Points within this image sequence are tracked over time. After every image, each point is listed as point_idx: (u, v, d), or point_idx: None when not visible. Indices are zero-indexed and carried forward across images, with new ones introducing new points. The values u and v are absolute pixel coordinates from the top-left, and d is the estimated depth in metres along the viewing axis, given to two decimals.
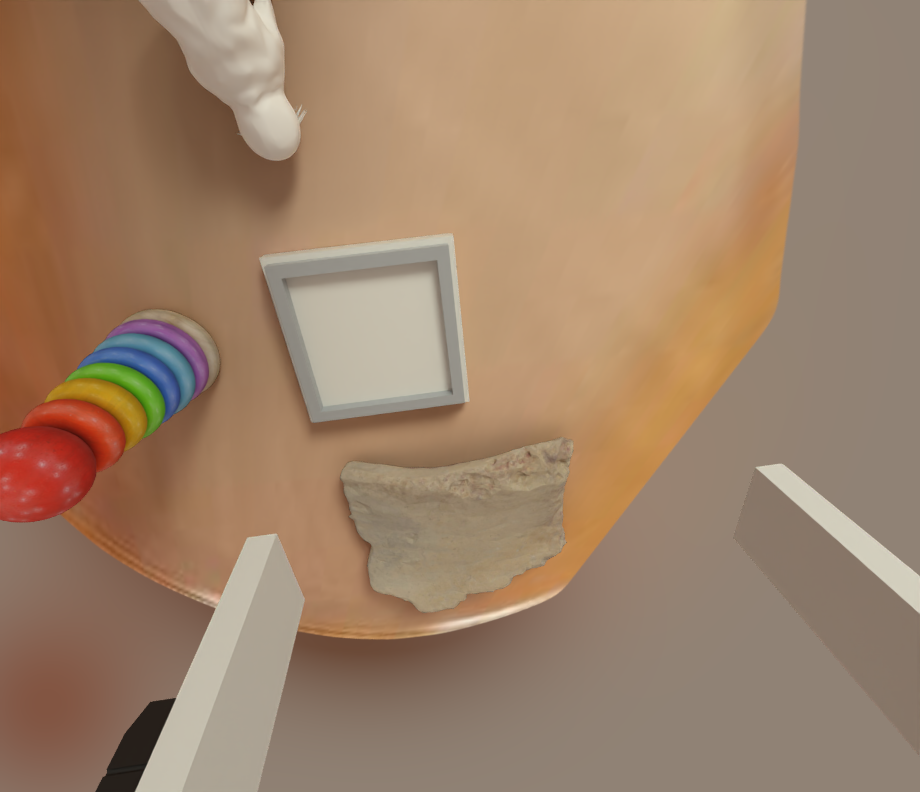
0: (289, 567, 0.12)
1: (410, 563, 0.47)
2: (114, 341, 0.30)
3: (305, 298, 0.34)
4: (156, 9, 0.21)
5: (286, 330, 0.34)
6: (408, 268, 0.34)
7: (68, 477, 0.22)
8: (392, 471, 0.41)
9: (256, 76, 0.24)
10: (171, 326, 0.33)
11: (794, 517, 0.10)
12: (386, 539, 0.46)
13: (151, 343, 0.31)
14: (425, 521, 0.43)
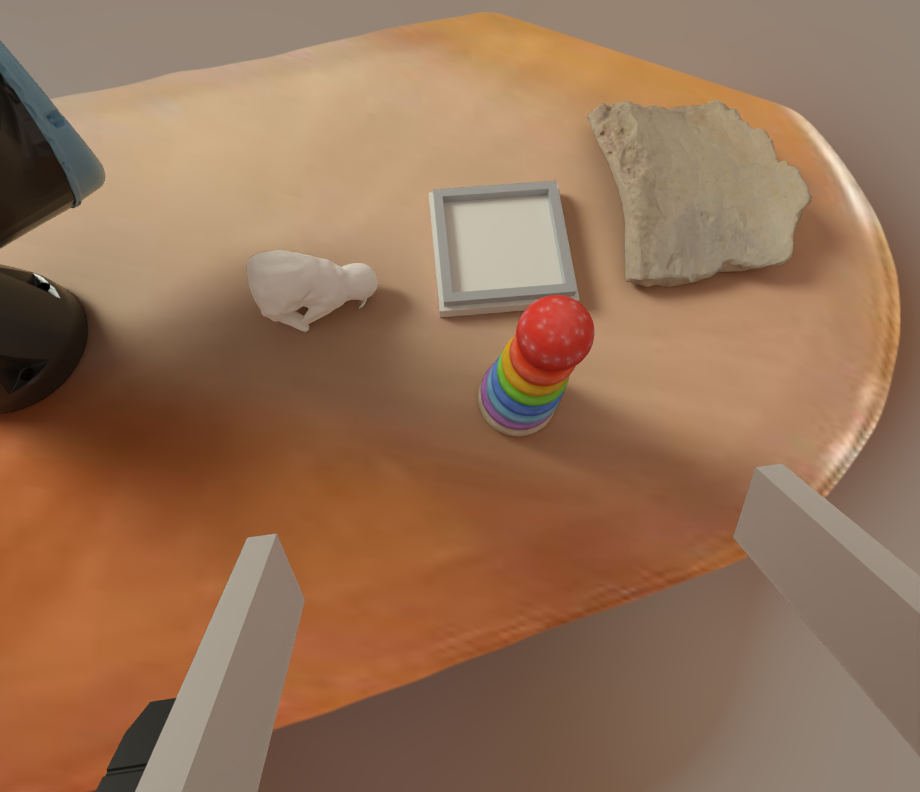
0: (289, 567, 0.12)
1: (745, 221, 0.46)
2: (490, 389, 0.38)
3: (469, 286, 0.46)
4: (295, 285, 0.39)
5: (492, 296, 0.44)
6: (449, 219, 0.48)
7: None
8: (628, 234, 0.46)
9: (329, 262, 0.42)
10: (486, 372, 0.42)
11: (794, 517, 0.10)
12: (713, 243, 0.45)
13: (493, 366, 0.39)
14: (681, 202, 0.46)
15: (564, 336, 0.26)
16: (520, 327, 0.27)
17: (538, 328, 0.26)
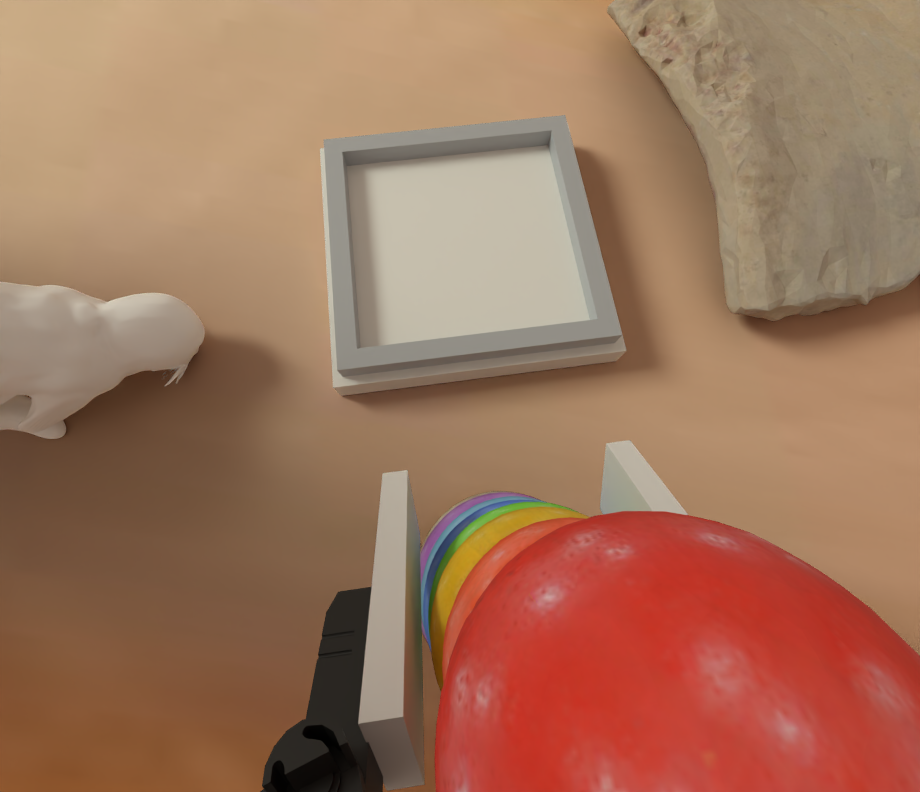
0: (412, 503, 0.13)
1: None
2: None
3: (397, 331, 0.22)
4: None
5: (442, 353, 0.21)
6: (359, 197, 0.24)
7: (642, 525, 0.04)
8: (728, 218, 0.22)
9: (60, 295, 0.18)
10: (428, 536, 0.18)
11: (626, 484, 0.12)
12: (904, 220, 0.22)
13: (435, 547, 0.15)
14: (831, 143, 0.22)
15: None
16: None
17: None
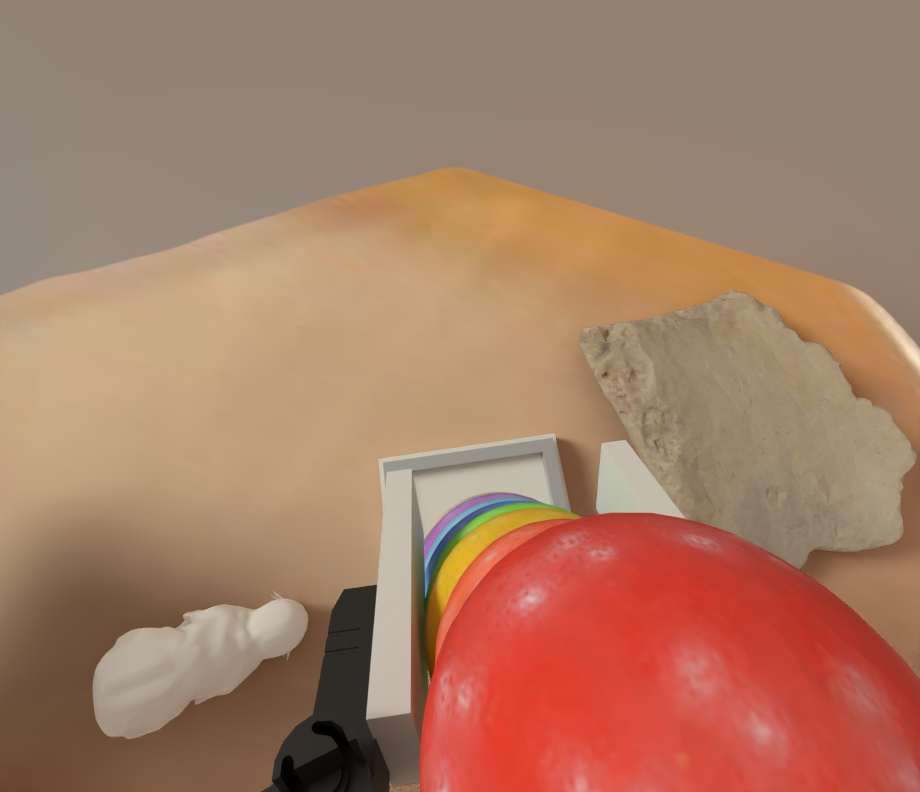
0: (416, 501, 0.13)
1: (827, 489, 0.33)
2: None
3: None
4: (166, 708, 0.26)
5: None
6: None
7: (627, 527, 0.04)
8: None
9: (228, 630, 0.28)
10: (426, 537, 0.18)
11: (621, 484, 0.12)
12: (791, 531, 0.32)
13: (433, 548, 0.15)
14: (737, 481, 0.32)
15: None
16: None
17: None
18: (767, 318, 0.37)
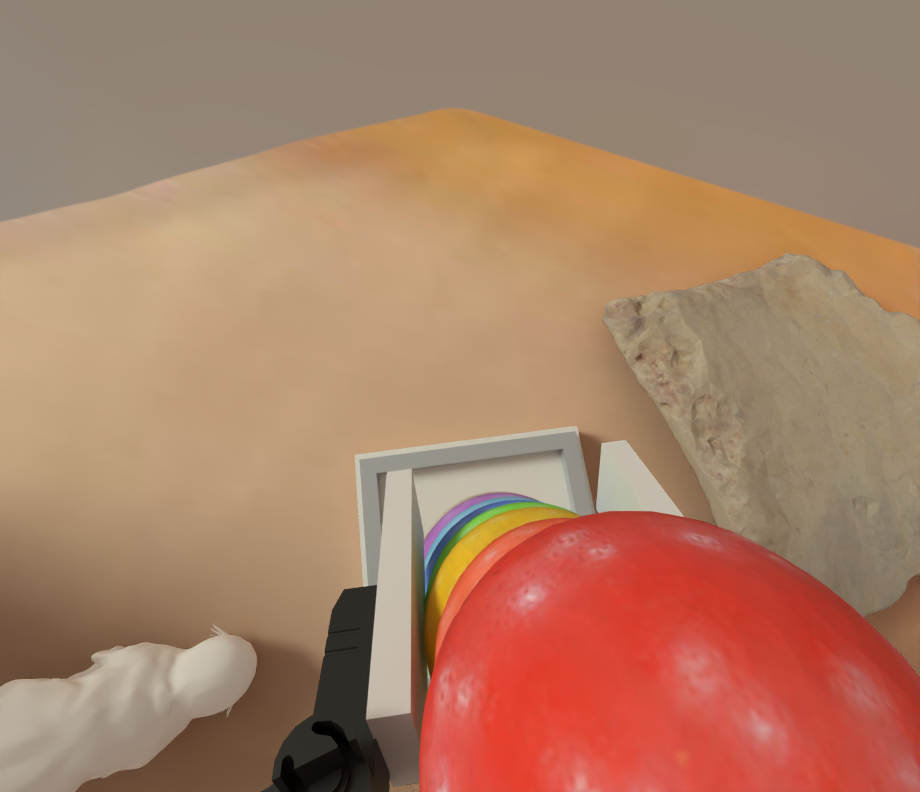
0: (416, 501, 0.13)
1: None
2: None
3: None
4: None
5: None
6: None
7: (627, 524, 0.04)
8: None
9: (141, 684, 0.21)
10: (426, 537, 0.18)
11: (621, 484, 0.12)
12: (885, 552, 0.25)
13: (433, 548, 0.15)
14: (817, 490, 0.25)
15: None
16: None
17: None
18: (837, 284, 0.29)
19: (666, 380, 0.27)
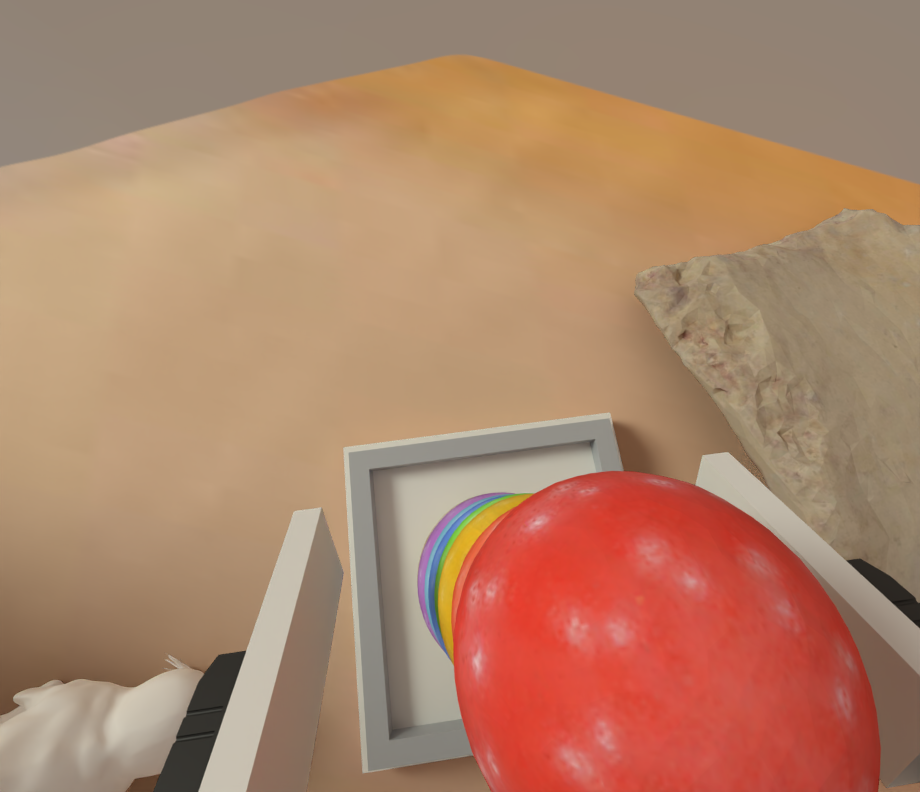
0: (331, 541, 0.12)
1: None
2: None
3: (431, 696, 0.20)
4: None
5: None
6: (387, 513, 0.22)
7: (608, 476, 0.06)
8: None
9: (63, 738, 0.16)
10: (431, 534, 0.19)
11: (733, 501, 0.11)
12: None
13: (438, 541, 0.17)
14: (916, 490, 0.20)
15: None
16: (465, 673, 0.05)
17: (570, 777, 0.04)
18: (914, 241, 0.25)
19: (720, 361, 0.22)
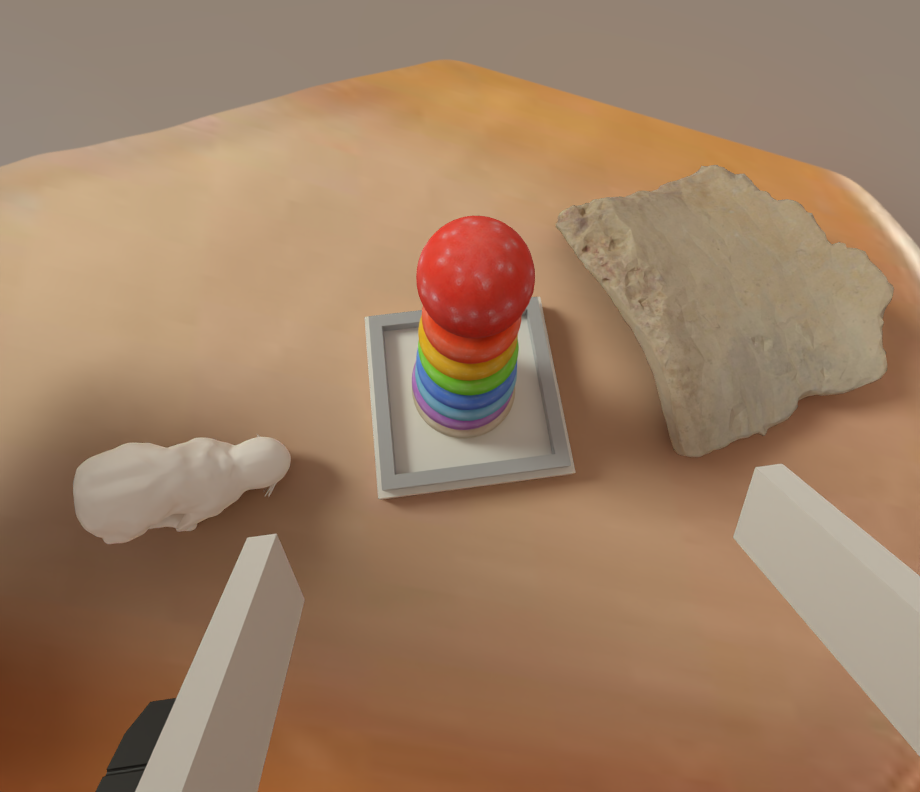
0: (289, 567, 0.12)
1: (811, 334, 0.33)
2: (418, 376, 0.28)
3: (420, 458, 0.32)
4: (146, 507, 0.26)
5: (451, 478, 0.31)
6: (393, 356, 0.35)
7: None
8: (664, 393, 0.32)
9: (209, 450, 0.29)
10: None
11: (794, 517, 0.10)
12: (779, 376, 0.33)
13: None
14: (724, 332, 0.32)
15: (480, 274, 0.16)
16: (418, 268, 0.17)
17: (440, 264, 0.16)
18: (739, 184, 0.37)
19: (605, 261, 0.34)
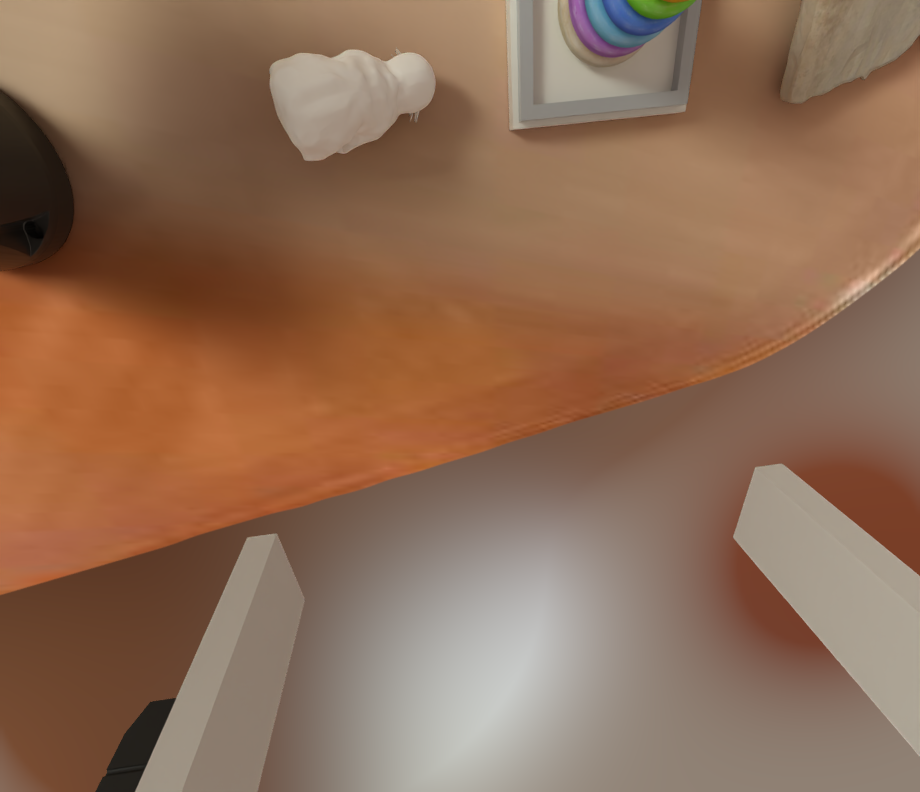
0: (289, 567, 0.12)
1: None
2: None
3: (553, 87, 0.35)
4: (346, 127, 0.30)
5: (582, 111, 0.35)
6: None
7: None
8: (803, 29, 0.33)
9: (377, 67, 0.30)
10: None
11: (794, 517, 0.10)
12: (918, 8, 0.33)
13: None
14: None
15: None
16: None
17: None
18: None
19: None
